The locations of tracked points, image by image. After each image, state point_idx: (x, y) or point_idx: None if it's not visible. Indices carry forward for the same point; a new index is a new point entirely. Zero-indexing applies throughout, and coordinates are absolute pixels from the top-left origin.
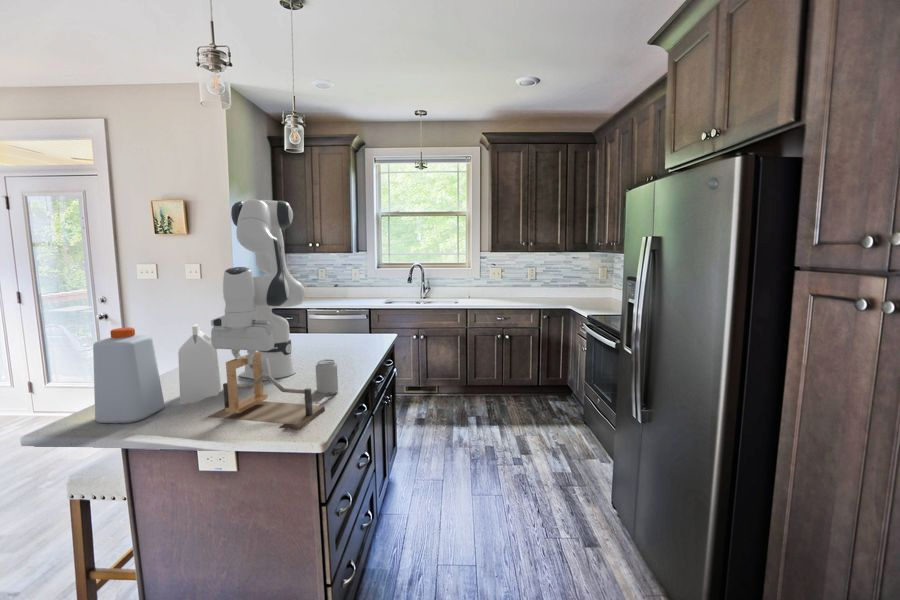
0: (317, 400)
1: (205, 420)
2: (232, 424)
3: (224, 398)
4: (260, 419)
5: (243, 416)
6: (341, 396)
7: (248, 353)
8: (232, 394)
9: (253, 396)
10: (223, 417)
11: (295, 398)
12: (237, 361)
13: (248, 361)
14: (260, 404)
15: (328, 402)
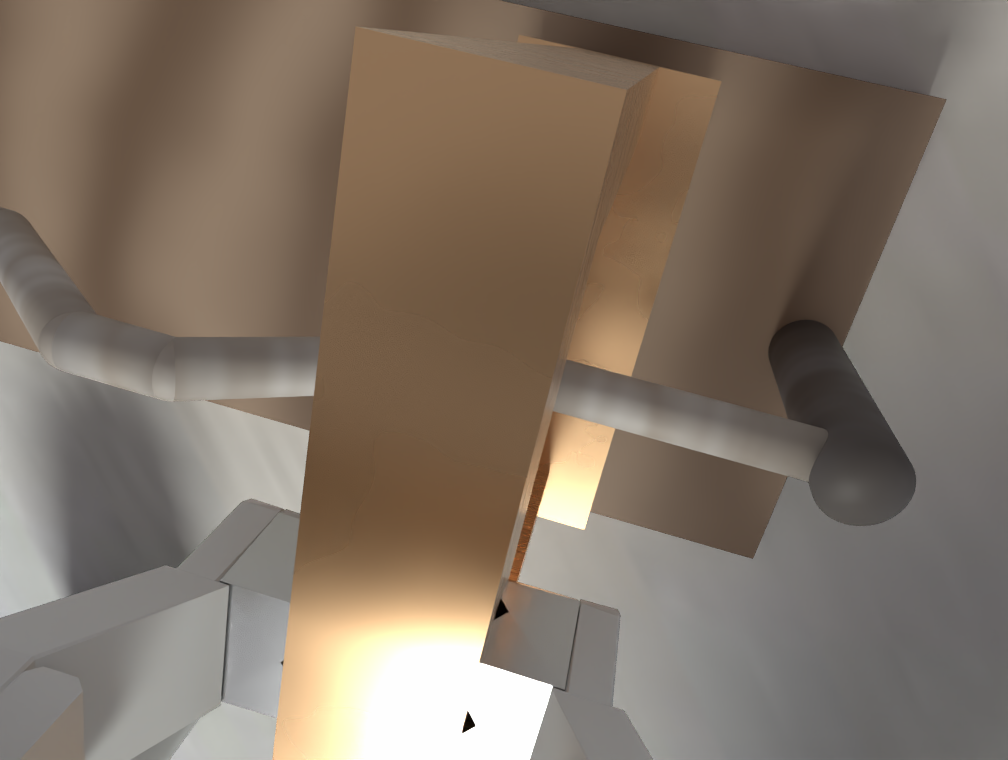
0: (142, 526)
1: (971, 123)
2: (612, 4)
3: (850, 366)
4: (306, 2)
5: None
6: (18, 579)
7: (47, 670)
8: (576, 51)
9: (552, 449)
10: (736, 63)
11: None
12: (337, 329)
13: (232, 528)
14: None
15: (42, 475)
